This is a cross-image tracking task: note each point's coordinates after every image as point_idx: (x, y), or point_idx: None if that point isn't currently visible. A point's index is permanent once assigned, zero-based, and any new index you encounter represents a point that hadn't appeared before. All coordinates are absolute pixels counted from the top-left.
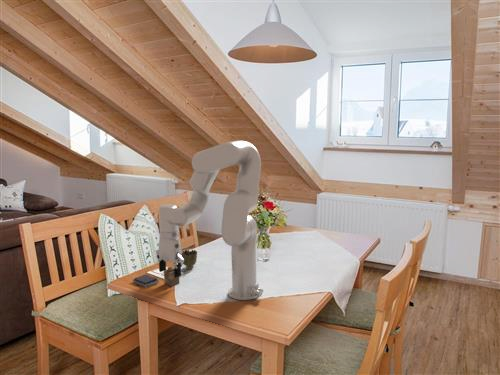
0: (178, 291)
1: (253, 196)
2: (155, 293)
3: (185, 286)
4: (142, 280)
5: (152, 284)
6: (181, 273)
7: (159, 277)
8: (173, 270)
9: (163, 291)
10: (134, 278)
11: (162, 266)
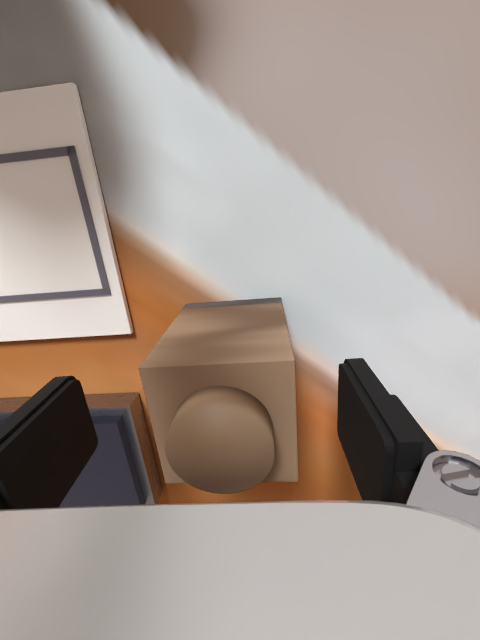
0: (410, 398)
1: None
2: (297, 500)
3: (383, 302)
4: (86, 502)
5: (149, 444)
6: (72, 121)
7: (41, 336)
8: (272, 433)
9: (313, 458)
10: None
11: (58, 464)
